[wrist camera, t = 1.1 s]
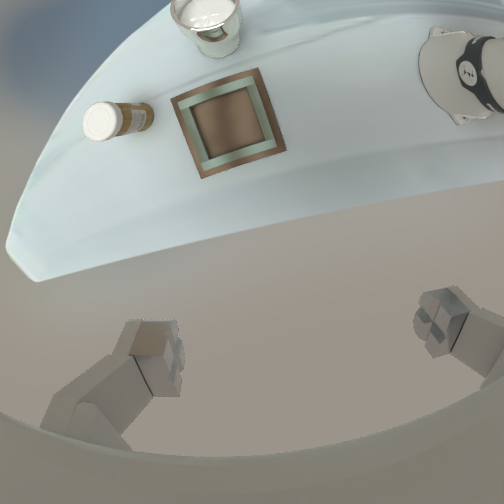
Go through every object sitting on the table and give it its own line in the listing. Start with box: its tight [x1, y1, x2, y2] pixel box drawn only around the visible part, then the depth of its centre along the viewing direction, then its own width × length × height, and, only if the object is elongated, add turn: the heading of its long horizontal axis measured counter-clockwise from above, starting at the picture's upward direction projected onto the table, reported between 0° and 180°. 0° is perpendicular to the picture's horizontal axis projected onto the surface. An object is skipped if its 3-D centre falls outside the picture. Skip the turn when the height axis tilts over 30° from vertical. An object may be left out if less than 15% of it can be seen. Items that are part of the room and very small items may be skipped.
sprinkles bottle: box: [83, 102, 154, 142], centre depth 30 cm, size 5×5×13 cm
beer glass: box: [170, 0, 242, 58], centre depth 24 cm, size 7×7×15 cm
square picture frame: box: [170, 68, 286, 179], centre depth 35 cm, size 13×13×4 cm
